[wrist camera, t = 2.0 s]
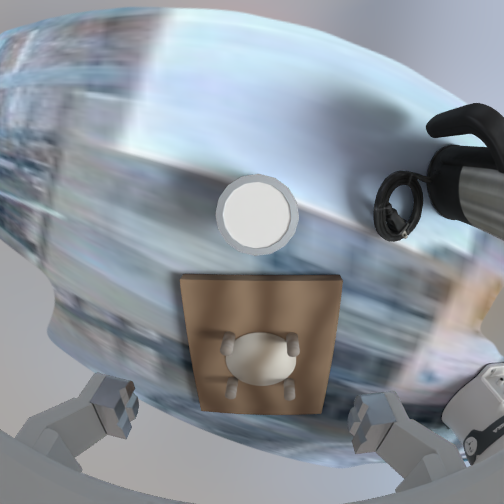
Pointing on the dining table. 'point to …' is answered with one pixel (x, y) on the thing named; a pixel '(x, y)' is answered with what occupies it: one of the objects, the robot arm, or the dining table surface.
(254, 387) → the pin board
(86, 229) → the dining table surface
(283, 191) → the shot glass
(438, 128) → the milk frother
